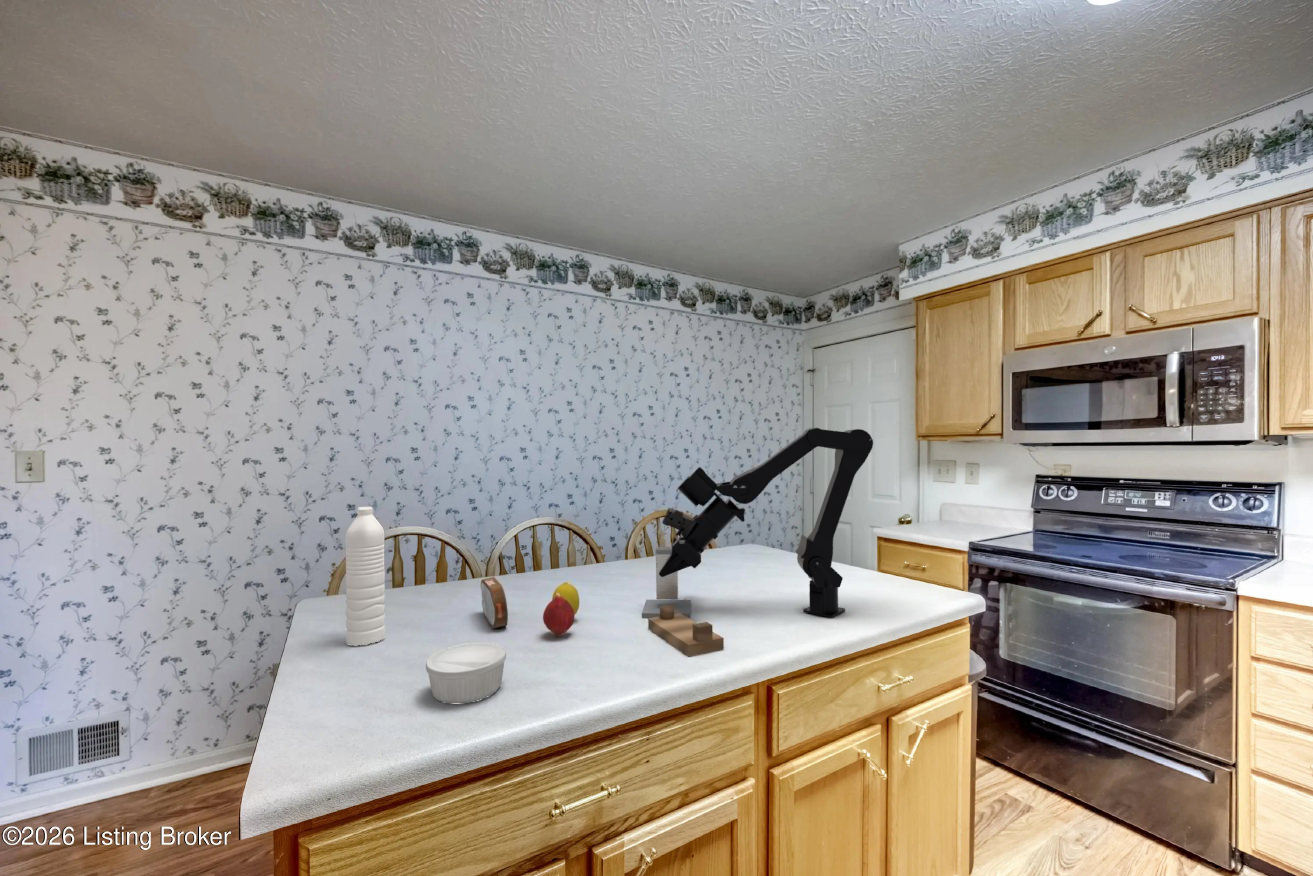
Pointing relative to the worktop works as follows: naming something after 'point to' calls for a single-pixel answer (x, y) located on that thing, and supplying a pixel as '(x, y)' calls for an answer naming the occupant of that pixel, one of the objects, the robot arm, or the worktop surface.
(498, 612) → the tin
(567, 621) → the onion
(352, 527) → the water bottle
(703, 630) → the body
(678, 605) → the mat
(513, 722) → the worktop surface
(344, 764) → the worktop surface
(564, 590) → the lemon
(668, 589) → the lever cap
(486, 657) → the ramekin
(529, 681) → the worktop surface
